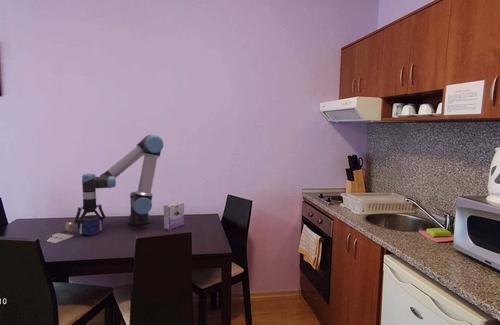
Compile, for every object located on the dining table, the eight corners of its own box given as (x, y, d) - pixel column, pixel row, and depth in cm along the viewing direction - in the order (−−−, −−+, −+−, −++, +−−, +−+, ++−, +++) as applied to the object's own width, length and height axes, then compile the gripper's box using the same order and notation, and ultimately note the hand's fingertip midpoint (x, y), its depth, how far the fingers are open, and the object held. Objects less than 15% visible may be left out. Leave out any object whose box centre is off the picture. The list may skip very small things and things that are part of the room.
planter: (102, 231, 214) (101, 214, 213) (97, 236, 204) (96, 219, 202) (84, 231, 212) (83, 215, 211) (78, 237, 202) (78, 219, 201)
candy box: (178, 224, 232) (178, 201, 231) (184, 225, 229) (184, 202, 227) (163, 228, 221) (163, 205, 220) (169, 230, 218) (169, 206, 216)
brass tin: (74, 231, 214) (73, 222, 213) (69, 232, 210) (68, 223, 209) (69, 230, 215) (69, 221, 214) (64, 232, 211) (63, 223, 211)
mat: (74, 236, 203) (74, 235, 203) (54, 243, 190) (54, 242, 190) (57, 233, 208) (57, 233, 208) (37, 240, 195) (37, 239, 194)
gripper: (106, 195, 216) (107, 226, 218) (67, 199, 201) (69, 233, 203) (110, 196, 211) (111, 229, 213) (70, 201, 195) (72, 236, 197)
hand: (90, 231), depth 208 cm, fingers closed on planter, 11 cm apart
